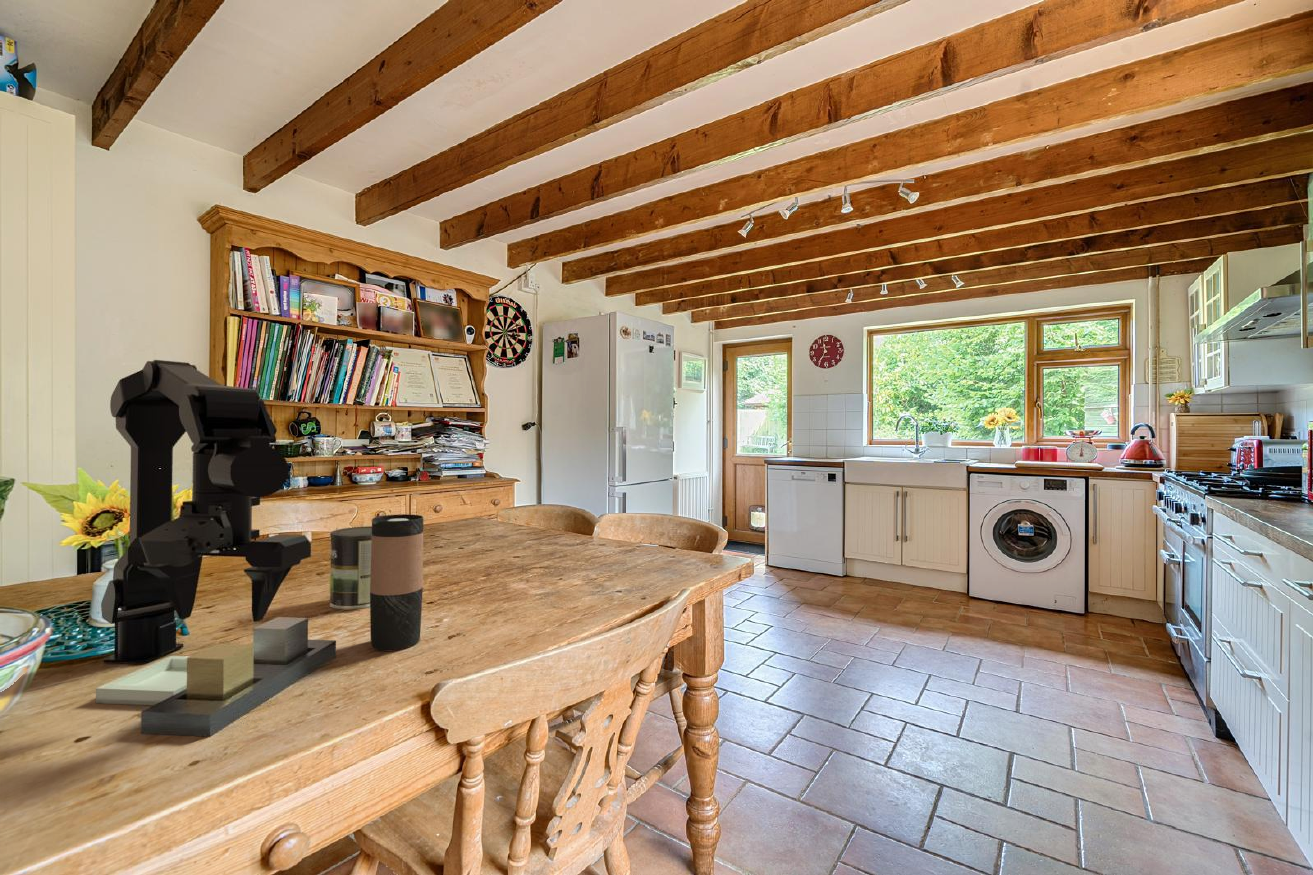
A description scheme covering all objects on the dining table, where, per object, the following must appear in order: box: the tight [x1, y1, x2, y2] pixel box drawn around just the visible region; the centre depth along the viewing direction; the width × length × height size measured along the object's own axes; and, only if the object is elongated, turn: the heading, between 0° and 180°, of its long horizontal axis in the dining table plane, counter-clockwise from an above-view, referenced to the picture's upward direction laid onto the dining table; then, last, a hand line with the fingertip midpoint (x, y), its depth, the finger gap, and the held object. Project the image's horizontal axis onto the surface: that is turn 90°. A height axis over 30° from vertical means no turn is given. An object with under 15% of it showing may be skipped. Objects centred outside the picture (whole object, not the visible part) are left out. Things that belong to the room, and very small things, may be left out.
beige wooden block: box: [187, 642, 254, 701], centre depth 67 cm, size 4×4×7 cm
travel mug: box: [369, 513, 424, 652], centre depth 89 cm, size 8×8×20 cm
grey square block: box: [252, 616, 309, 665], centre depth 77 cm, size 4×4×7 cm
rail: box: [140, 639, 337, 738], centre depth 72 cm, size 8×22×2 cm, turn 177°
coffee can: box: [329, 525, 372, 611], centre depth 110 cm, size 10×10×14 cm
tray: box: [95, 655, 190, 706], centre depth 73 cm, size 10×10×2 cm
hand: (221, 619), depth 67 cm, fingers open, 9 cm apart
